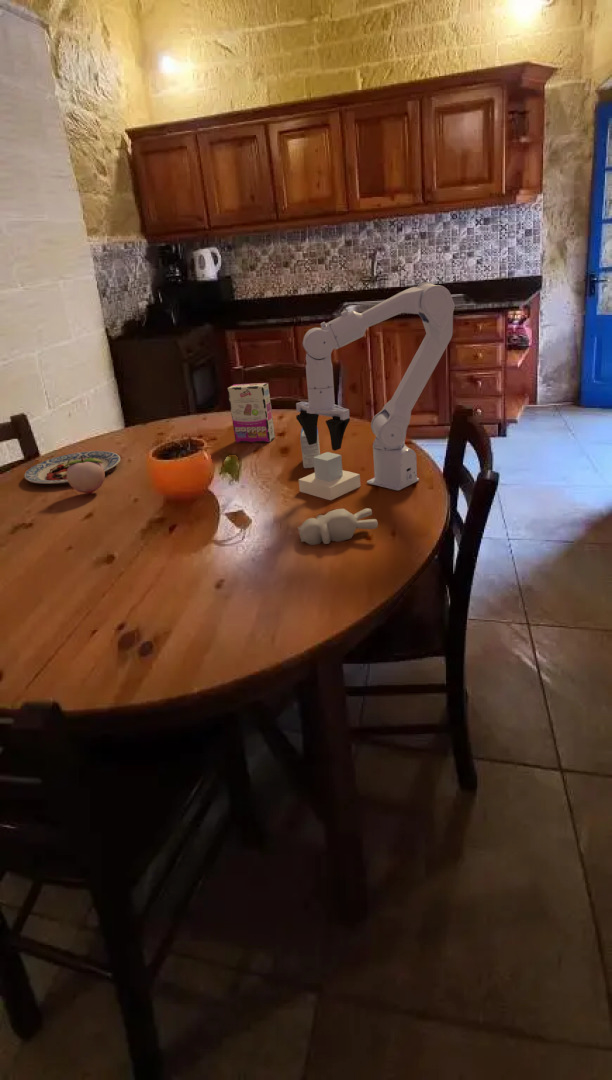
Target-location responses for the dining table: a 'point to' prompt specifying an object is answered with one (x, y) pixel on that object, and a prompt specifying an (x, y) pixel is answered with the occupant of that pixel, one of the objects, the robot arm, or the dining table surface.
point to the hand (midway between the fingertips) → (324, 446)
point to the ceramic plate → (57, 473)
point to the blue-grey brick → (328, 466)
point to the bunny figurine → (335, 526)
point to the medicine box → (309, 450)
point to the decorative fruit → (85, 474)
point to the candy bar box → (251, 412)
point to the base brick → (329, 485)
